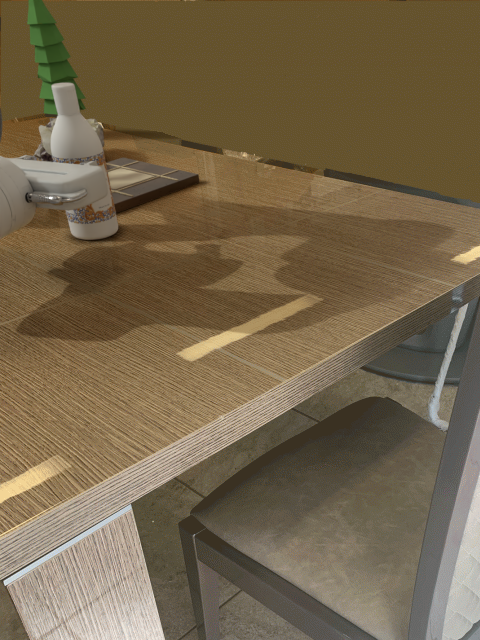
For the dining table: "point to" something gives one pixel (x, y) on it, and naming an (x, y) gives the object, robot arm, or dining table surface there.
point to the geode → (45, 132)
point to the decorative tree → (50, 55)
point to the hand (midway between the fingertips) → (62, 164)
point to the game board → (144, 182)
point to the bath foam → (75, 147)
